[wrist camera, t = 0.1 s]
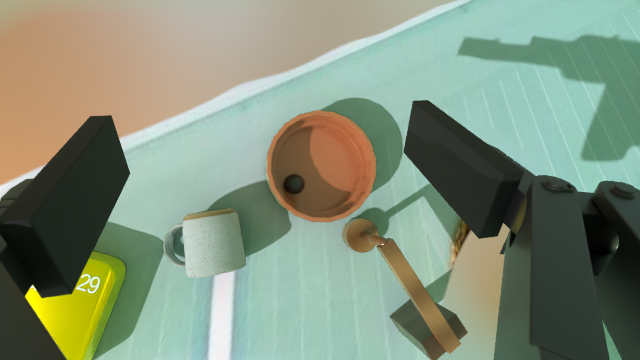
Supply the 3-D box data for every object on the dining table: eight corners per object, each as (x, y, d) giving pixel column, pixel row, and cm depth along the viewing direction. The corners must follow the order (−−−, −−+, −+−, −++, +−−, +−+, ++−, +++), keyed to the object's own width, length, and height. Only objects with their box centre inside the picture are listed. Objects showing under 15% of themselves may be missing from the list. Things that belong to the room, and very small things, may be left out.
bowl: (380, 183, 54) (396, 181, 48) (302, 239, 51) (308, 244, 45) (328, 102, 53) (337, 90, 47) (245, 154, 50) (244, 148, 44)
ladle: (424, 307, 54) (470, 336, 43) (400, 327, 53) (440, 362, 42) (361, 211, 53) (391, 215, 42) (336, 230, 52) (359, 238, 41)
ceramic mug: (238, 205, 50) (234, 206, 42) (247, 260, 49) (245, 272, 42) (162, 218, 48) (143, 222, 40) (171, 276, 47) (154, 290, 40)
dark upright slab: (428, 307, 54) (468, 332, 44) (399, 331, 53) (433, 362, 43) (418, 292, 54) (456, 314, 44) (389, 316, 53) (421, 343, 43)
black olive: (307, 187, 51) (310, 186, 48) (290, 198, 51) (292, 198, 48) (296, 170, 51) (298, 169, 48) (279, 181, 50) (280, 180, 47)
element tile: (-36, 341, 42) (-72, 359, 38) (15, 227, 44) (-14, 230, 39) (88, 370, 45) (69, 391, 40) (132, 261, 47) (118, 268, 42)
